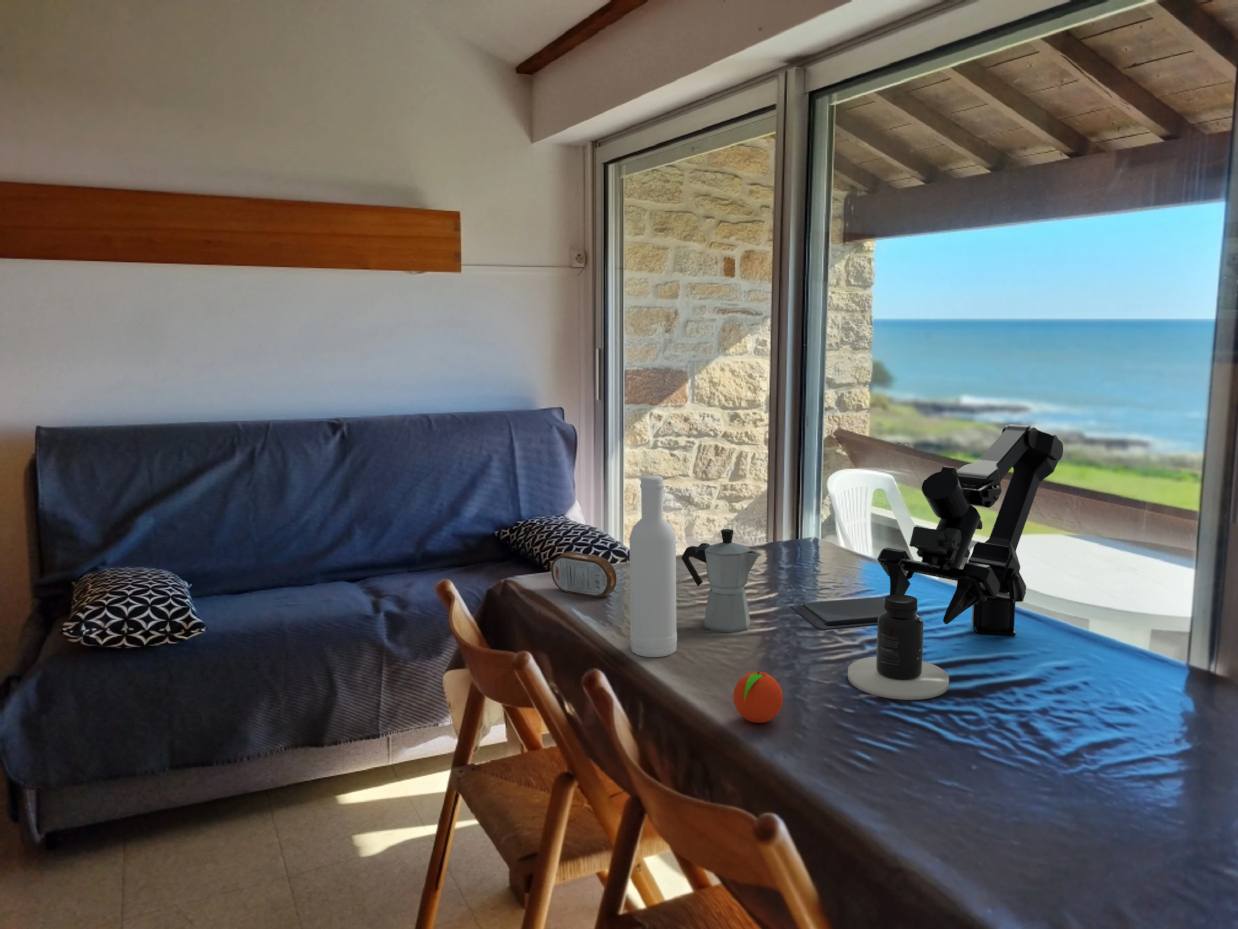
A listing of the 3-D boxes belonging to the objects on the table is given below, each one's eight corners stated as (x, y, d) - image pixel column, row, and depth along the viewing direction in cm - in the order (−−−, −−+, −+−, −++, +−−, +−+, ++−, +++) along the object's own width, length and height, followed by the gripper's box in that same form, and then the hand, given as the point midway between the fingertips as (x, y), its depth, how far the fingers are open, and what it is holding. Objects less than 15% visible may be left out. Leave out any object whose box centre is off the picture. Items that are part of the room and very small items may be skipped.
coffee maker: (765, 621, 176) (766, 526, 174) (756, 635, 168) (757, 537, 165) (688, 614, 181) (687, 522, 179) (675, 628, 173) (675, 532, 170)
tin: (617, 597, 193) (617, 557, 192) (609, 601, 190) (608, 560, 189) (558, 587, 201) (557, 548, 200) (549, 591, 198) (548, 552, 197)
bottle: (620, 650, 162) (618, 477, 157) (651, 638, 167) (649, 471, 163) (656, 661, 156) (654, 482, 152) (686, 649, 162) (685, 476, 158)
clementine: (768, 738, 127) (768, 688, 126) (721, 727, 131) (721, 678, 130) (790, 717, 134) (791, 668, 133) (745, 707, 138) (745, 660, 136)
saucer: (945, 667, 152) (945, 660, 151) (952, 704, 137) (952, 696, 137) (849, 660, 156) (849, 653, 155) (845, 694, 141) (846, 687, 141)
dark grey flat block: (817, 623, 170) (788, 600, 185) (817, 634, 171) (788, 609, 186) (921, 615, 174) (883, 593, 189) (920, 625, 174) (883, 602, 189)
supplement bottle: (930, 679, 144) (933, 602, 142) (888, 683, 142) (891, 606, 141) (908, 663, 150) (910, 590, 148) (868, 667, 149) (870, 593, 147)
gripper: (884, 499, 157) (846, 578, 151) (994, 515, 143) (957, 601, 137) (907, 537, 163) (872, 614, 157) (1014, 555, 150) (980, 639, 144)
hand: (917, 616), depth 149 cm, fingers open, 9 cm apart
